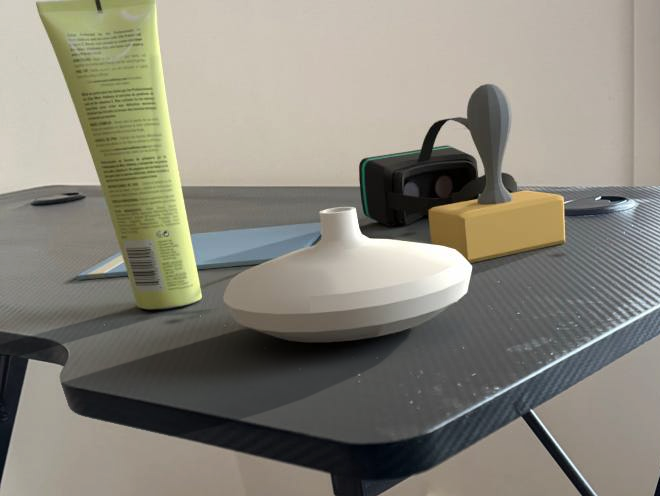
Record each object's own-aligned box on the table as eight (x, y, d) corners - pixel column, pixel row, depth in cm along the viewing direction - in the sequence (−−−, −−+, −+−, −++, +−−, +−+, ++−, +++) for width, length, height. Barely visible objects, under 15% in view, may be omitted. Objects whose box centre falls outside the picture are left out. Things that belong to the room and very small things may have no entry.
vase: (196, 336, 62) (168, 222, 58) (396, 287, 69) (382, 183, 65) (301, 384, 51) (274, 247, 47) (526, 320, 58) (519, 196, 54)
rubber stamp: (465, 265, 74) (449, 90, 67) (431, 256, 78) (413, 91, 71) (567, 243, 77) (562, 76, 71) (529, 235, 82) (521, 77, 75)
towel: (77, 280, 83) (76, 275, 83) (144, 242, 98) (143, 237, 98) (296, 260, 82) (295, 255, 81) (330, 225, 97) (329, 220, 96)
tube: (181, 292, 75) (107, -2, 64) (223, 296, 72) (153, -10, 61) (123, 310, 71) (34, 1, 60) (165, 314, 68) (80, -7, 58)
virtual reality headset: (455, 201, 100) (451, 95, 93) (544, 239, 89) (546, 121, 82) (362, 219, 95) (352, 108, 89) (443, 260, 84) (437, 137, 78)
